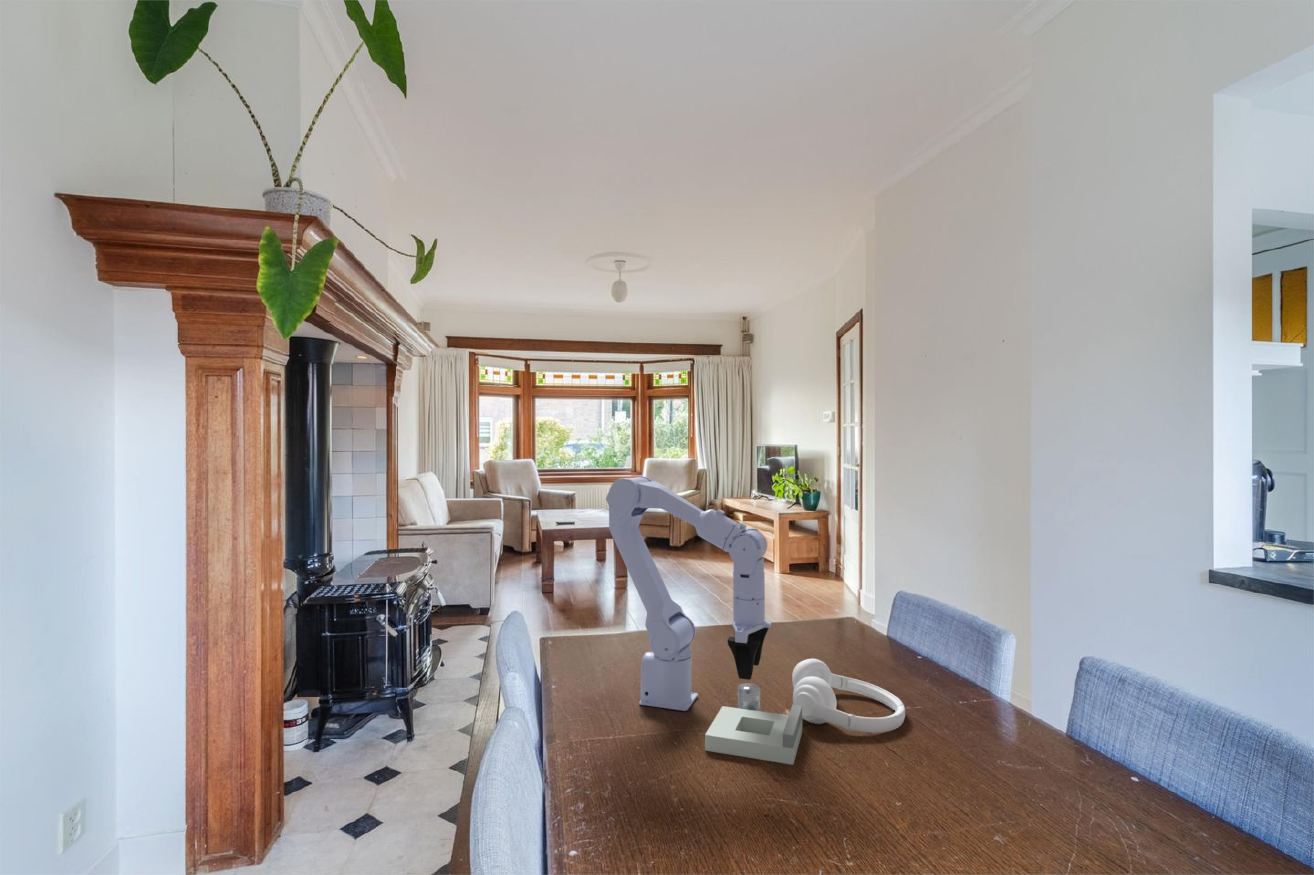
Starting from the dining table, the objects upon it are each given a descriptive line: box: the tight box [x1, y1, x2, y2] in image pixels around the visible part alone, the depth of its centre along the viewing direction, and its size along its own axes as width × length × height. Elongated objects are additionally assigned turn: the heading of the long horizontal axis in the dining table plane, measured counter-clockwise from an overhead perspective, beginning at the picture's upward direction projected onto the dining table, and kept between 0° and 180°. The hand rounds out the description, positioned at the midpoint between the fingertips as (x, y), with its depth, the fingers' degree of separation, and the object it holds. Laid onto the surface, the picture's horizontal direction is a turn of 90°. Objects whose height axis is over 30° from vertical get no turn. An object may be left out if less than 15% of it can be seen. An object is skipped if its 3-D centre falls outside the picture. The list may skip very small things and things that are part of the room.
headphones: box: [791, 658, 906, 734], centre depth 117 cm, size 20×8×20 cm
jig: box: [704, 704, 803, 766], centre depth 105 cm, size 14×12×4 cm
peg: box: [737, 682, 761, 711], centre depth 116 cm, size 4×4×5 cm
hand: (749, 671), depth 116 cm, fingers open, 7 cm apart
